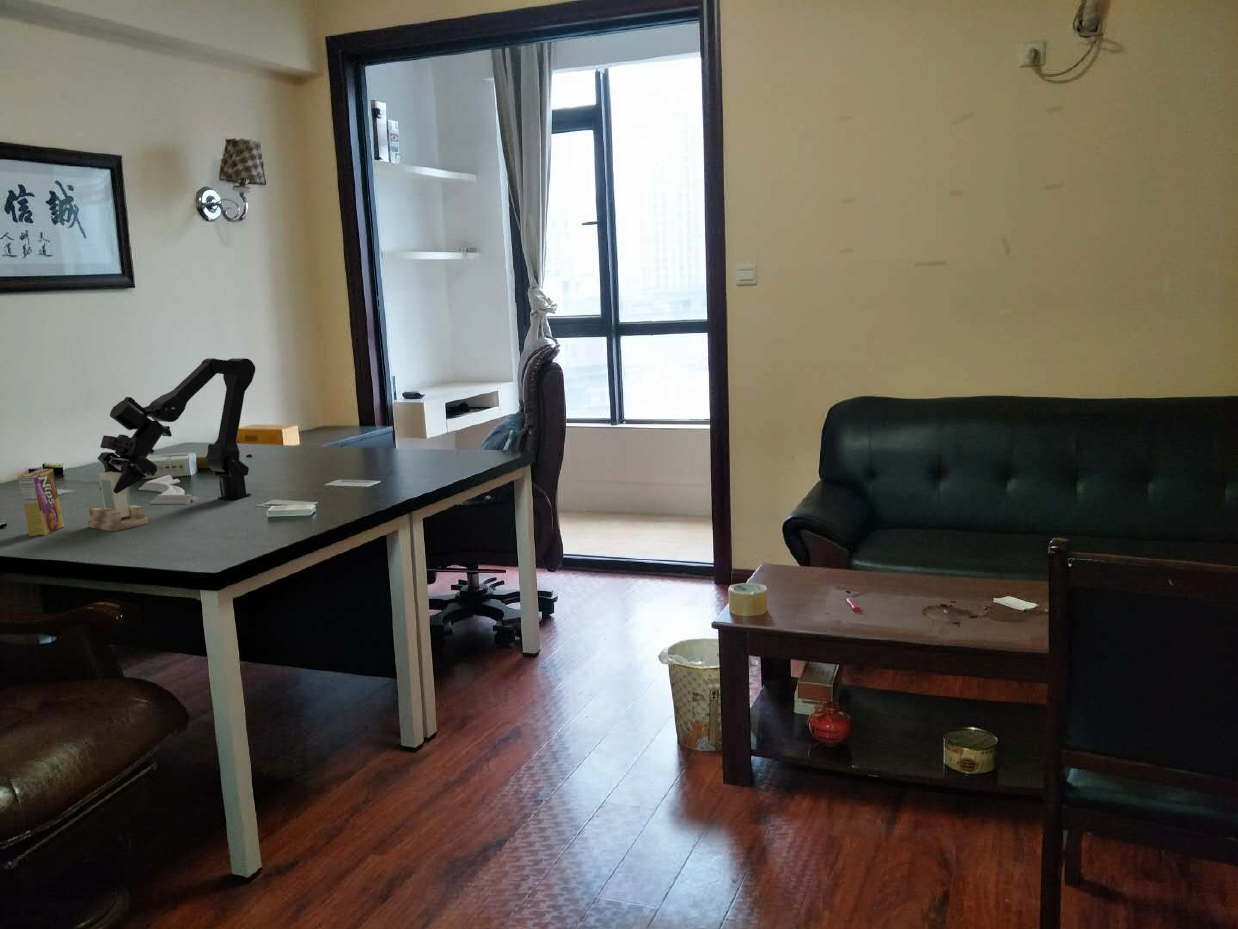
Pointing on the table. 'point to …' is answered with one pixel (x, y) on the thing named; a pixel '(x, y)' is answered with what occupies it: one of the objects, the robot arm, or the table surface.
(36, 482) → the candy box
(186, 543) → the table surface
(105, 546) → the table surface
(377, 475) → the table surface
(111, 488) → the grey upright slab
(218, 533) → the table surface
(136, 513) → the stand
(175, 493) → the molding
